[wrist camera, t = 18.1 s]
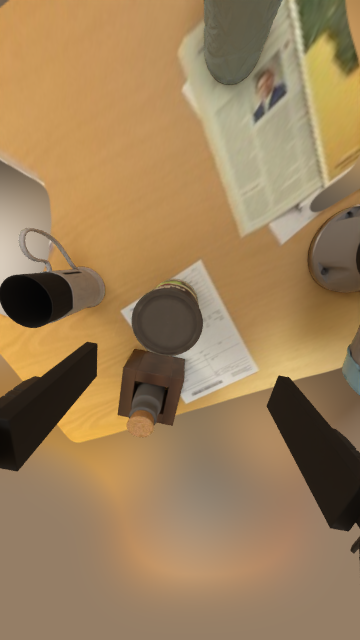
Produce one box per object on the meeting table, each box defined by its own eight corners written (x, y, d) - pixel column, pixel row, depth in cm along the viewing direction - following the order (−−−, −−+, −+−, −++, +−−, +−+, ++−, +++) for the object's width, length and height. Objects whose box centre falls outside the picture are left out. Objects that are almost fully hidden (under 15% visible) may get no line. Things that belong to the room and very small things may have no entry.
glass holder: (68, 306, 41) (3, 330, 27) (57, 237, 36) (-27, 221, 22) (106, 308, 41) (62, 333, 26) (100, 238, 36) (43, 224, 22)
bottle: (142, 382, 46) (121, 437, 32) (145, 363, 44) (124, 411, 30) (165, 386, 46) (154, 442, 32) (168, 367, 44) (159, 417, 30)
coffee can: (145, 283, 38) (122, 295, 25) (193, 274, 38) (196, 282, 24) (156, 328, 42) (141, 360, 28) (201, 321, 41) (207, 351, 27)
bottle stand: (184, 359, 44) (184, 379, 36) (175, 399, 47) (172, 425, 40) (134, 348, 43) (123, 367, 36) (128, 390, 47) (117, 415, 40)
